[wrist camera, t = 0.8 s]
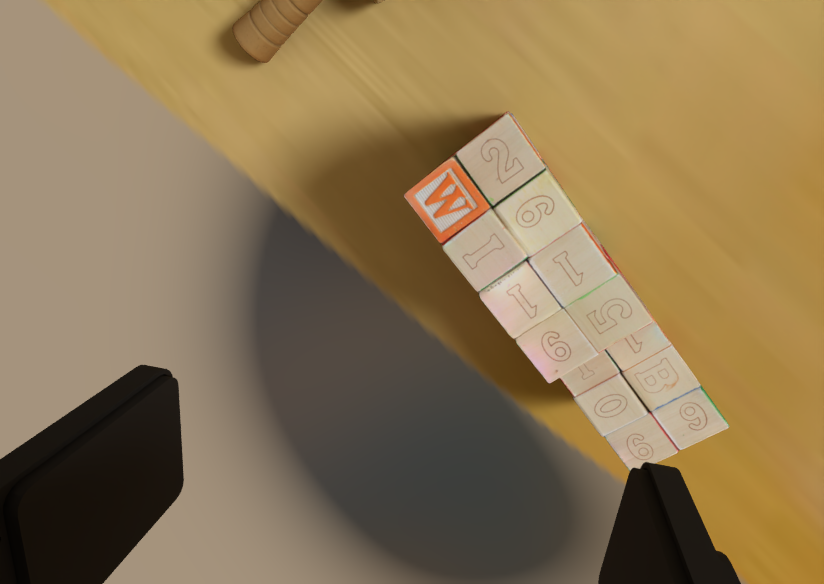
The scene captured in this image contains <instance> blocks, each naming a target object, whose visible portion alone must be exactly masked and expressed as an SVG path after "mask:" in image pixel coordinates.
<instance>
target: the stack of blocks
mask: <svg viewBox="0 0 824 584" xmlns="http://www.w3.org/2000/svg"><path fill="white" fill-rule="evenodd" d="M404 197H405V199H406V200H407V201H408V203H409V204H410V205H411V206H412V208H413V209H414V210H415V212H416V213H417V214H418V215H419V217H420V218H421V219H422V221H423V222H424V223H425V225H426V226H427V227H428V229H429V230H430V231H431V232H432V234H433V235H434V236H435V238H436V239H437V240H438V241H439V242H440V243H441V244H442V248H443V250H444V252H445V253H446V254H447V255H448V257H449V258H450V259H451V261H452V262H453V263H454V264H455V265H456V267H457V268H458V269H459V270H460V272H461V273H462V274H463V276H464V277H465V278H466V279H467V281H468V282H469V283H470V284H471V285H472V287H473V288H474V289H475V290H476V291H477V292H479V297H480V299H481V300H482V302H483V303H484V304H485V306H486V307H487V308H488V309H489V310H490V312H491V313H492V314H493V315H494V317H495V318H496V319H497V321H498V322H499V323H500V324H501V325H502V327H503V328H504V329H505V331H506V332H507V333H508V334H509V335H510V336H511V337H512V338H513V339H515V341H516V343H517V345H518V346H519V347H520V348H521V350H522V351H523V352H524V353H525V355H526V356H527V357H528V358H529V360H530V361H531V362H532V363H533V365H534V366H535V367H536V369H537V370H538V371H539V372H540V374H541V375H542V376H543V377H544V378H545V380H546V381H547V382H548V383H549V384H550V383H552V382H553V381H555V380H556V379H558V378H560V379H561V381H562V382H563V383H564V385H565V386H566V387H567V389H568V390H569V391H570V393H571V394H572V395H573V399H574V400H575V402H576V403H577V405H578V406H579V407H580V409H581V410H582V411H583V413H584V414H585V416H586V417H587V418H588V420H589V421H590V422H591V423H592V425H593V426H594V427H595V429H596V430H597V431H598V433H599V434H600V435H601V436H603V437H605V438H606V440H607V441H608V443H609V444H610V445H611V447H612V448H613V449H614V451H615V452H616V453H617V455H618V456H619V457H620V459H621V460H622V461H623V463H624V464H625V465H626V467H627V468H628V469H629V471H630V470H631V469H632V468H639V469H640V468H641V466H642V464H643V463H645V462H649V463H657V462H659V461H661V460H663V459H665V458H668V457H670V456H672V455H674V454H676V453H678V451H679V450H681V449H684V448H687V447H689V446H691V445H693V444H695V443H697V442H700V441H702V440H704V439H706V438H708V437H710V436H712V435H714V434H716V433H718V432H721V431H723V430H725V429H727V428H729V425H728V423H727V421H726V420H725V419H724V417H723V416H722V414H721V413H720V411H719V410H718V409H717V407H716V406H715V404H714V403H713V401H712V400H711V399H710V397H709V396H708V395H707V393H706V392H705V390H704V389H703V388H702V386H701V385H700V383H699V382H698V380H697V379H696V377H695V376H694V374H693V373H692V372H691V370H690V369H689V367H688V366H687V364H686V363H685V362H684V360H683V359H682V357H681V356H680V355H679V353H678V352H677V350H676V349H675V348H674V346H673V345H672V343H671V342H670V341H669V339H668V338H667V336H666V335H665V334H664V332H663V331H662V329H661V328H660V327H659V325H658V324H657V322H656V321H655V320H654V318H653V316H652V315H651V313H650V312H649V310H648V309H647V307H646V306H645V304H644V303H643V302H642V300H641V299H640V297H639V296H638V295H637V293H636V292H635V290H634V289H633V288H632V286H631V285H630V283H629V282H628V281H627V279H626V278H625V276H624V275H623V274H622V273H621V271H620V270H619V269H618V267H617V266H616V264H615V263H614V261H613V260H612V259H611V257H610V256H609V254H608V253H607V252H606V250H605V249H604V247H603V246H602V244H601V243H600V242H599V240H598V239H597V237H596V236H595V234H594V233H593V232H592V231H591V230H590V228H589V227H588V226H587V224H586V223H585V221H584V220H583V219H582V217H581V216H580V214H579V213H578V211H577V210H576V208H575V206H574V205H573V203H572V202H571V200H570V199H569V197H568V196H567V194H566V193H565V192H564V190H563V188H562V187H561V185H560V184H559V182H558V181H557V179H556V178H555V176H554V175H553V173H552V172H551V171H550V169H549V168H548V166H547V165H546V163H545V162H544V160H543V159H542V157H541V156H540V154H539V153H538V150H537V149H536V147H535V146H534V145H533V143H532V142H531V140H530V139H529V137H528V136H527V134H526V133H525V131H524V130H523V128H522V127H521V126H520V124H519V123H518V121H517V120H516V118H515V117H514V115H513V114H512V113H510V112H508V111H507V112H506V113H505V114H503V115H502V116H501V117H500V118H499V119H497V120H496V121H495V122H494V123H492V124H491V125H490V126H489V127H487V128H486V129H485V130H484V131H482V132H481V133H480V134H478V135H477V136H476V137H474V138H473V139H472V140H471V141H469V142H468V143H467V144H466V145H464V146H463V147H462V148H461V149H460V150H458V151H457V152H455V153H454V154H453V155H451V156H450V157H449V158H448V159H447V160H445V161H444V162H443V163H442V164H440V165H439V166H438V167H437V168H436V169H434V170H433V171H432V172H431V173H429V174H428V175H427V176H426V177H425V178H423V179H422V180H421V181H420V182H418V183H417V184H416V185H415V186H413V187H412V188H411V189H410V190H408V191H407V192H406V193H405V194H404Z"/></svg>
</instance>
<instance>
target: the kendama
mask: <svg viewBox="0 0 824 584" xmlns="http://www.w3.org/2000/svg"><path fill="white" fill-rule="evenodd" d="M321 1H322V0H261V1H260V2H259V3H258V4H257V5H255V6H254V7H253V8H252V10H250V11H249V12H247V13H246V14H245V15H244V16H243V17H241V18H240V19H239V20H238V21H237V22H235V24H234V25H233V33H234V36H235V38H236V40H237V41H238V43H239V44H240V46H241V47H242V48H243V49H244V50H245V51H246V52H247V53H248V54H249V55H250V56H251V57H253V58H254V59H256V60H258V61H260V62H263V63H267V62H269V60H270V59H271V58H272V57H273V56H274V55H275V53H276V52H277V51H278V50H279V48H280V47H281V45H282V44H284V43H285V41H286V40H287V39H288V38H289V37H290V35H291V34H292V33H293V32H294V31H295V30H296V29H297V28H298V26H299V25H300V24H301V23H302V22H303V21H304V20H305V19H306V18H307V16H308V14H310V13H311V12H312V11H313V10H314V9H315V8H316V7H317V6H318V5H319V3H320V2H321ZM373 1H374V3H380V2H382V1H384V0H373Z"/></svg>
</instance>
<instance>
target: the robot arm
mask: <svg viewBox="0 0 824 584" xmlns="http://www.w3.org/2000/svg"><path fill="white" fill-rule="evenodd" d="M179 407H180V406H179V388H178V381H177V380H176V379H175V378H173V377H172V374H171V372H170V371H169V370H167V369H163V368H158V367H153V366H147V365H140V366H138V367H136V368H134V369H133V370H132V371H130V372H128V373H127V374H126V375H124V376H123V377H121V378H120V379H118V380H117V381H115V382H114V383H112V384H111V385H109V386H108V387H107V388H105V389H103V390H102V391H101V392H99V393H97V394H96V395H95V396H93V397H92V398H90V399H89V400H87V401H86V402H84V403H83V404H81V405H80V406H79V407H77V408H75V409H74V410H72V411H71V412H69V413H68V414H67V415H65V416H64V417H62V418H61V419H59V420H58V421H56V422H55V423H53V424H52V425H50V426H49V427H47V428H46V429H44V430H43V431H41V432H40V433H38V434H37V435H36V436H34V437H33V438H31V439H30V440H28V441H27V442H25V443H24V444H22V445H21V446H19V447H18V448H16V449H15V450H13V451H12V452H11V453H9V454H8V455H6V456H5V457H3V458H2V459H0V584H102V583H104V581H105V580H106V579H107V578H108V577H109V576H110V575H111V573H112V572H113V571H114V570H115V569H116V568H117V567H118V565H119V564H120V563H121V562H122V561H123V560H124V558H125V557H126V556H127V555H128V554H129V553H130V552H131V550H132V549H133V548H134V547H135V546H136V545H137V544H138V542H139V541H140V540H141V539H142V538H143V537H144V536H145V534H146V533H147V532H148V531H149V530H150V529H151V528H152V526H153V525H154V524H155V523H156V522H157V521H158V520H159V518H160V517H161V516H162V515H163V514H164V513H165V511H166V510H167V509H168V508H169V507H170V506H171V505H172V503H173V502H174V501H175V500H176V499H177V497H178V496H179V494H180V492H181V490H182V487H183V481H184V479H183V460H182V444H181V443H182V442H181V424H180V408H179ZM598 583H599V584H741V583H740V581H739V579H738V577H737V575H736V572H735V570H734V568H733V566H732V564H731V562H730V561H729V559H728V558H727V556H726V555H725V554H723V553H722V552H719V551H716V550H715V548H714V546H713V543H712V541H711V539H710V537H709V535H708V532H707V530H706V528H705V526H704V524H703V521H702V519H701V517H700V515H699V513H698V510H697V508H696V506H695V504H694V502H693V499H692V497H691V495H690V493H689V491H688V488H687V486H686V484H685V482H684V479H683V477H682V475H681V473H680V471H679V470H678V469H677V468H675V467H670V466H664V465H659V464H654V463H649V462H645V463H643V464H642V466H641V468H640V469H639V468H632V469H631V470H630V473H629V476H628V479H627V483H626V486H625V490H624V493H623V496H622V500H621V503H620V507H619V510H618V513H617V517H616V520H615V524H614V527H613V530H612V534H611V537H610V540H609V544H608V547H607V551H606V554H605V557H604V561H603V564H602V567H601V571H600V575H599V581H598Z"/></svg>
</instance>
